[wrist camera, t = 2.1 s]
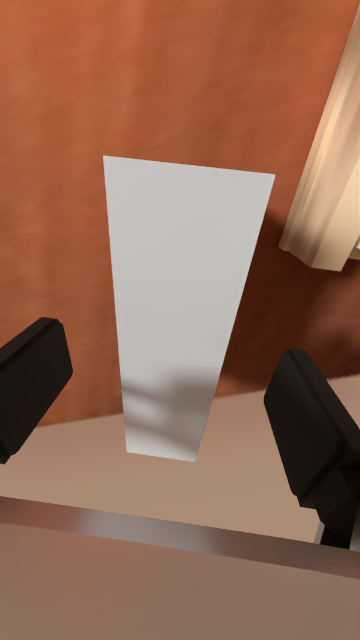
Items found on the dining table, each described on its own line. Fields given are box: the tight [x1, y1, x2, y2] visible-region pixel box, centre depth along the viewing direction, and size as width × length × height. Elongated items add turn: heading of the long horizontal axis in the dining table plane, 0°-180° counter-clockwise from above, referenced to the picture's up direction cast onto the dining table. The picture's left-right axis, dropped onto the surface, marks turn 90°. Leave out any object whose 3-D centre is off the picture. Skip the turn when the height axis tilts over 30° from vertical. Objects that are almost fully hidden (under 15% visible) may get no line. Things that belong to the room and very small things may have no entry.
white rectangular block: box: [103, 156, 275, 462], centre depth 11 cm, size 12×4×9 cm, turn 175°
